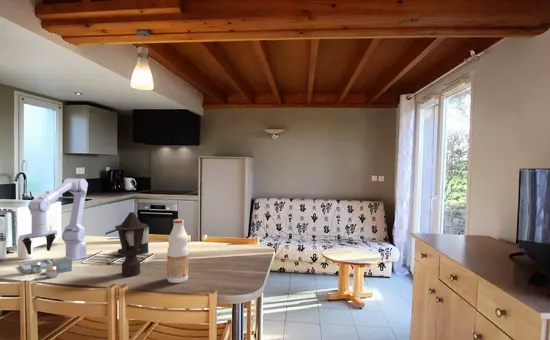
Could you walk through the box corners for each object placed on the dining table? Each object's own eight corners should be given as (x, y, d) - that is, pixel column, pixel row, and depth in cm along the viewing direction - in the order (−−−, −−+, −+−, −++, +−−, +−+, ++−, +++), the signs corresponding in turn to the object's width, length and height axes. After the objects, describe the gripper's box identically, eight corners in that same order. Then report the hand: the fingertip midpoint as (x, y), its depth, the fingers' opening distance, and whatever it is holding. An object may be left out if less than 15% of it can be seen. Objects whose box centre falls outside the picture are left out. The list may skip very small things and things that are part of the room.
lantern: (147, 267, 162) (148, 209, 161) (147, 277, 148) (148, 214, 147) (115, 270, 156) (116, 210, 155) (112, 281, 143) (112, 215, 142)
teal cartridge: (40, 270, 154) (40, 260, 154) (42, 272, 151) (42, 262, 151) (29, 272, 151) (29, 262, 151) (31, 274, 148) (31, 264, 148)
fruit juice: (173, 285, 140) (174, 222, 139) (163, 279, 146) (164, 219, 145) (192, 279, 147) (193, 220, 146) (181, 274, 153) (182, 217, 152)
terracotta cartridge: (55, 274, 148) (55, 264, 148) (58, 277, 146) (58, 266, 146) (45, 277, 145) (45, 266, 145) (47, 279, 143) (47, 268, 143)
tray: (48, 261, 167) (48, 258, 167) (54, 266, 159) (54, 264, 159) (19, 266, 158) (19, 263, 158) (24, 272, 150) (24, 269, 150)
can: (15, 260, 168) (15, 237, 167) (21, 256, 174) (21, 235, 174) (29, 259, 169) (29, 237, 169) (35, 255, 176) (35, 234, 175)
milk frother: (151, 250, 191) (152, 226, 190) (137, 258, 175) (138, 232, 175) (129, 249, 192) (130, 225, 192) (113, 257, 177) (114, 231, 176)
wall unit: (68, 268, 158) (68, 255, 158) (72, 270, 154) (72, 258, 154) (51, 271, 153) (52, 258, 152) (55, 274, 149) (55, 261, 149)
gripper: (53, 220, 158) (53, 247, 159) (17, 225, 147) (17, 253, 147) (58, 222, 154) (58, 250, 155) (22, 227, 142) (22, 256, 143)
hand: (39, 252), depth 151 cm, fingers open, 7 cm apart
